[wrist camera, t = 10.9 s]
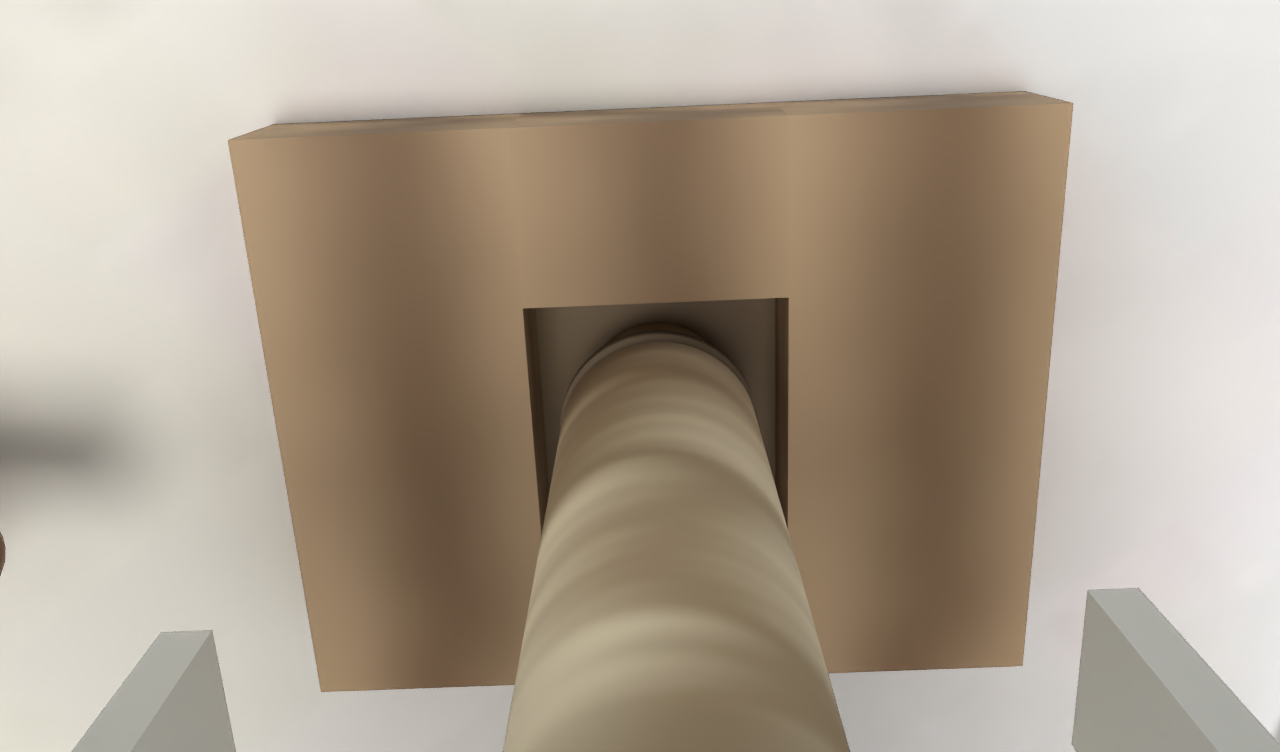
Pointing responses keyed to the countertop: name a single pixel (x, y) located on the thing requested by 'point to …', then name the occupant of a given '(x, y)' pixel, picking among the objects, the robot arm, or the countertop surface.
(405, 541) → the board
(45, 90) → the countertop surface
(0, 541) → the mug
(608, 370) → the leg
